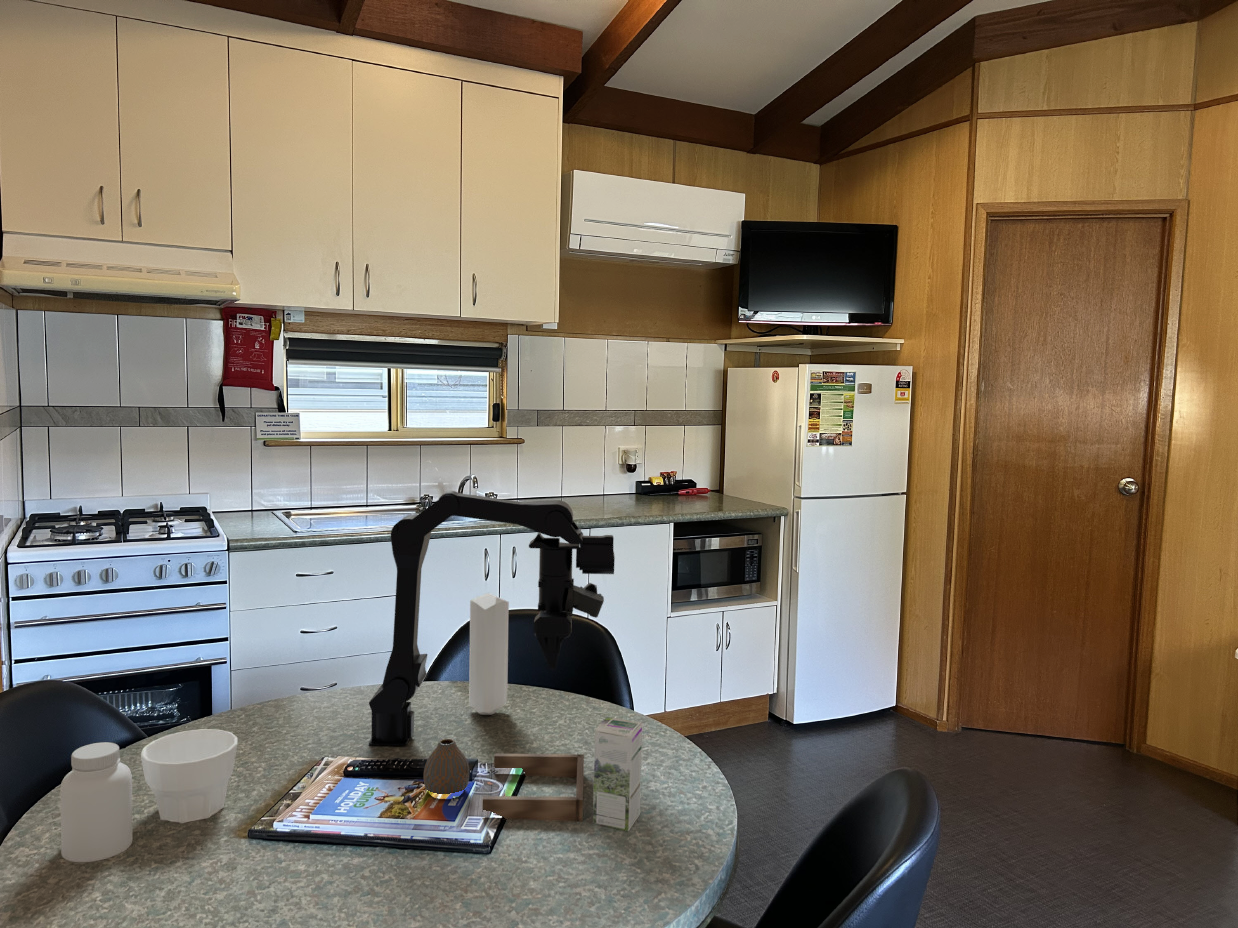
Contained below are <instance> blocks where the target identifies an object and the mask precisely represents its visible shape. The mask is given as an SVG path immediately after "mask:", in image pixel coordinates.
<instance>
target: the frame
mask: <svg viewBox="0 0 1238 928" xmlns="http://www.w3.org/2000/svg"><path fill="white" fill-rule="evenodd" d="M584 760H585V754H581V753H580V754H578V753H577V754H573V753H571V754H569V753H568V754H567V753H564V754H563V753H561V754H558V753H494V756H493V768H494V767H495V768H522V769H523V770H524V772H525V777H526V776H527V777H528V776H530V777H533V776H534V777H555V778H557V777H559V778H576V793H575V794H576V796H525V795H524V796H521V795H520V796H519V795H518V796H517V795H515V796H514V795H512V796H511V795H508V796H507V795H506V796H502V795H498V796H497V795H492V796H491V795H483V796H482V811H483V810H486V811H491V812H493V813H496V814H497V815H500V816H503V817H504V818H505V819H504V820H519V821H520V820H525V821H526V820H527V821H528V820H529V821H551V822H552V821H554V822H555V821H556V822H583V821H584V819H583V816H584V815H583V811H584V809H583V808H584V773H585V771H584V770H585V769H584V768H585V767H584V766H585V763H584V762H585V761H584Z"/></svg>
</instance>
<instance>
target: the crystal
mask: <svg viewBox="0 0 1238 928" xmlns="http://www.w3.org/2000/svg"><path fill="white" fill-rule="evenodd" d="M509 603H510V602H509V601H507V600H505V599H503V598H501V597H499V596H497V595H494V594H493V593H490V592H487V593H484V594H482V595H478V596H476V597H475V598H472V599H471V600H470V601H469V666H468V667H469V673H468V674H469V677H468V679H469V682H468V683H469V685H468V689H469V690H468V692H469V693H468V704H469V706H470V707H471V708H472V709H474V711H476V712H477V713H478V714H479V715H480V716H481V715H482V716H491V715H494V714H495V713H497V711H499V710H500V709H502V708H503V707H505V706H506V703H507V702H508V678H509V677H508V667H509V664H508V663H509V614H510V613H509V610H510V609H509V608H510V607H509V605H510V604H509Z"/></svg>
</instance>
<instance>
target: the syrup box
mask: <svg viewBox="0 0 1238 928" xmlns="http://www.w3.org/2000/svg"><path fill="white" fill-rule="evenodd" d="M593 750H594V753H593V754H594V755H593V757H594V758H593V794H592V795H593V797H592V798H593V802H592V805H593V806H592V824H593V825H598V826H602V827H607V828H612V829H616V830H621V831H626V832H629V831H630V830H631V828H632V827H633V826H634V824H635V822H636V821H637V819H638V818H639V817H640V816H641V815H640V814H641V783H642V782H641V779H642V774H641V773H642V755H643V754H642V751H643V722H641V721H640V722H639V721H635V720H628V719H621V718H615V717H605V719H603V720H602V721H601V722H600V723H599V724H598V725H597V727H596V728H595V729H594V749H593Z"/></svg>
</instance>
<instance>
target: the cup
mask: <svg viewBox="0 0 1238 928" xmlns="http://www.w3.org/2000/svg"><path fill="white" fill-rule="evenodd" d="M238 740H239V738H238V737H237V736H236V735H235V734H233V732H231V731H227V730H222V729H211V728H209V729H208V728H201V729H192V730H191V729H190V730H184V731H179V732H176V733H175V732H174V733H171V734H166V735H164V736H162V737H160V738H158V739H157V738H156V739H154V740H152V741H151V742H150V743H148V744H147V745H145V746H144V747H143V748H142V750H141V753H140V759H141V766H142V769H143V775H144V780H145V783H146V785H148V787H149V788H150V789H151V791H152V792H153V794H154V798H155V802H156V807H157V811H158V815H159V819H160V821H168V822H172V823H179V824H185V823H188V822H194V821H199V820H204V819H209V818H210V817H211V816H213V815H215V814H216V813H218V812H219V811H220V810H222V809H224V808H225V802H226V799H227V798H226V795H227V791H228V788H229V787H228V786H229V780H230V778H231V777H232V774H233V772H234V770H235V769H234V768H235V762H236V756H237V749H238Z"/></svg>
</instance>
